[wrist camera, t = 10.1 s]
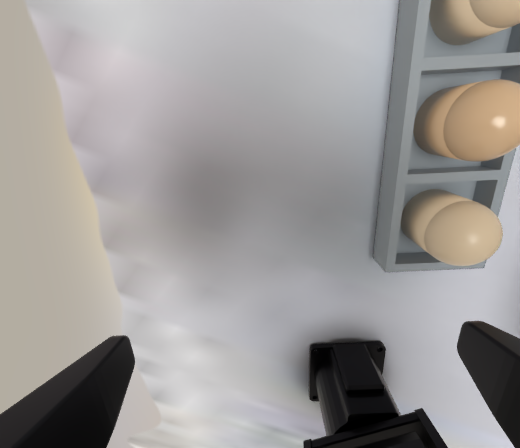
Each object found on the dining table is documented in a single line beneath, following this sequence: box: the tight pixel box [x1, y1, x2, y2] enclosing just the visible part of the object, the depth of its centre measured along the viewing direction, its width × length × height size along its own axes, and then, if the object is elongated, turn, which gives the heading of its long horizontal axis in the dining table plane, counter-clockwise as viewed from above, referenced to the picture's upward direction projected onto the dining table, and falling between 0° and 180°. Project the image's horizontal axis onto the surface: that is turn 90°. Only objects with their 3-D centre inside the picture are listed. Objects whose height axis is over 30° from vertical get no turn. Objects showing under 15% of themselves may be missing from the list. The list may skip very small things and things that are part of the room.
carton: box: [373, 0, 520, 272], centre depth 15 cm, size 19×7×6 cm, turn 3°
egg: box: [413, 79, 520, 162], centre depth 15 cm, size 4×4×5 cm
